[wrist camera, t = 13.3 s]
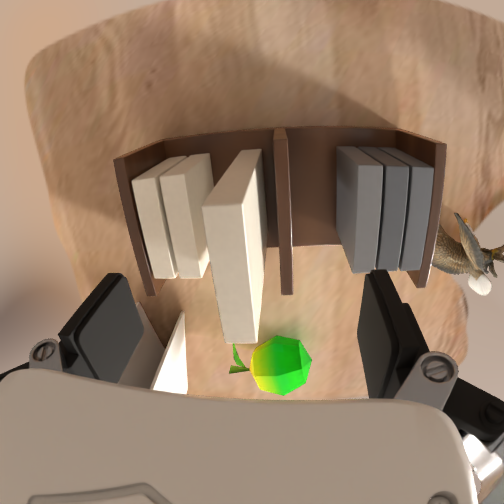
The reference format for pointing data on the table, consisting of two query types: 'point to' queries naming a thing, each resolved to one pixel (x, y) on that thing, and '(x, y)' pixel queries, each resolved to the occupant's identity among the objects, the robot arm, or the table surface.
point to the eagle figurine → (466, 257)
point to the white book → (238, 245)
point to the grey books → (382, 207)
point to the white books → (175, 214)
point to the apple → (277, 365)
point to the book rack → (285, 184)
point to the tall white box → (158, 360)
